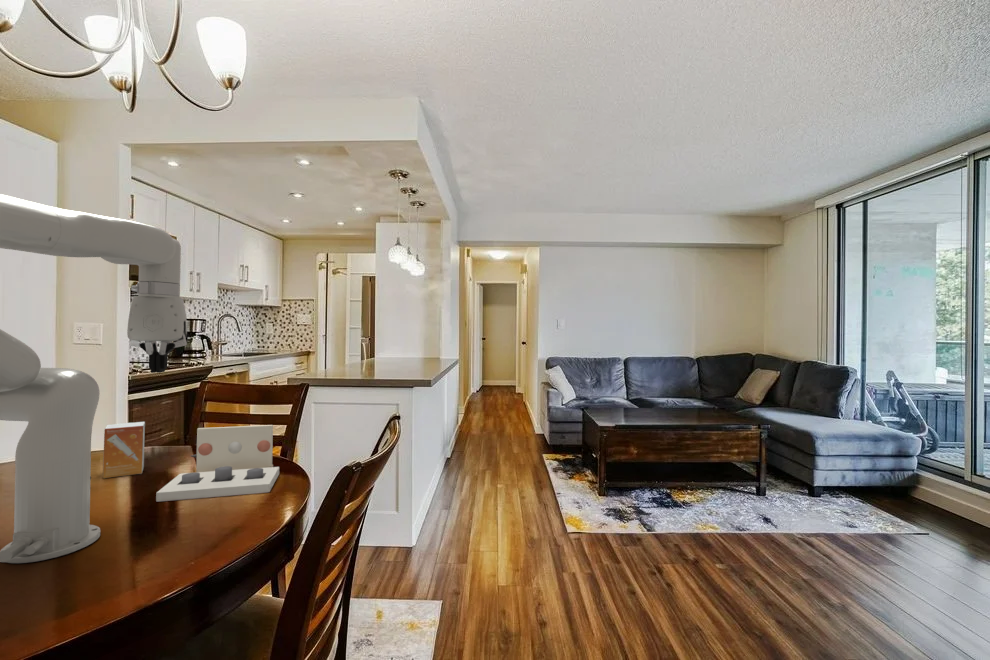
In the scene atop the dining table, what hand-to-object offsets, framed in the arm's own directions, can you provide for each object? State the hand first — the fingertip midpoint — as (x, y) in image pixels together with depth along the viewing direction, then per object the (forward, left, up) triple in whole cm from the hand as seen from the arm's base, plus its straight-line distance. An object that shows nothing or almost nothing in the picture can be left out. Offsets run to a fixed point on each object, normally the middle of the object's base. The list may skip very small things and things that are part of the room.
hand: (158, 372), depth 100 cm
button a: (+6, -5, -29) cm, 30 cm away
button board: (+6, -12, -29) cm, 32 cm away
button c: (+6, -19, -29) cm, 35 cm away
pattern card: (+17, -12, -29) cm, 36 cm away
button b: (+6, -12, -28) cm, 31 cm away
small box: (+24, +16, -29) cm, 41 cm away
